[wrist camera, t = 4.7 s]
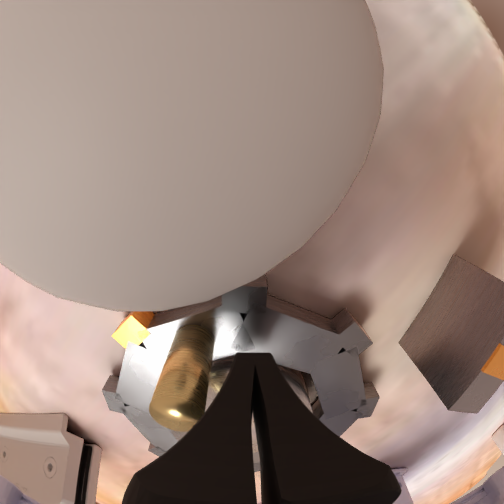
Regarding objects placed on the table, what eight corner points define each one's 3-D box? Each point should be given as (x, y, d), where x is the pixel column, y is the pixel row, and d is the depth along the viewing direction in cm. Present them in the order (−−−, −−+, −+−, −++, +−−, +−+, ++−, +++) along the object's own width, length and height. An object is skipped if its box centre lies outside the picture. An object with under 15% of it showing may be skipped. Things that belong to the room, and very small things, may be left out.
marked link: (479, 277, 13) (544, 319, 7) (430, 355, 15) (478, 415, 9) (452, 253, 13) (529, 297, 7) (397, 342, 14) (449, 412, 8)
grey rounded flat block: (66, 412, 16) (58, 521, 8) (105, 433, 19) (104, 530, 11) (-6, 412, 17) (-17, 481, 9) (23, 430, 20) (16, 496, 12)
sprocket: (340, 230, 12) (408, 281, 6) (376, 426, 16) (401, 485, 11) (68, 326, 13) (14, 387, 8) (188, 470, 17) (181, 526, 12)
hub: (330, 372, 15) (343, 406, 12) (266, 442, 16) (269, 473, 14) (203, 325, 13) (195, 360, 11) (161, 410, 15) (152, 443, 13)
